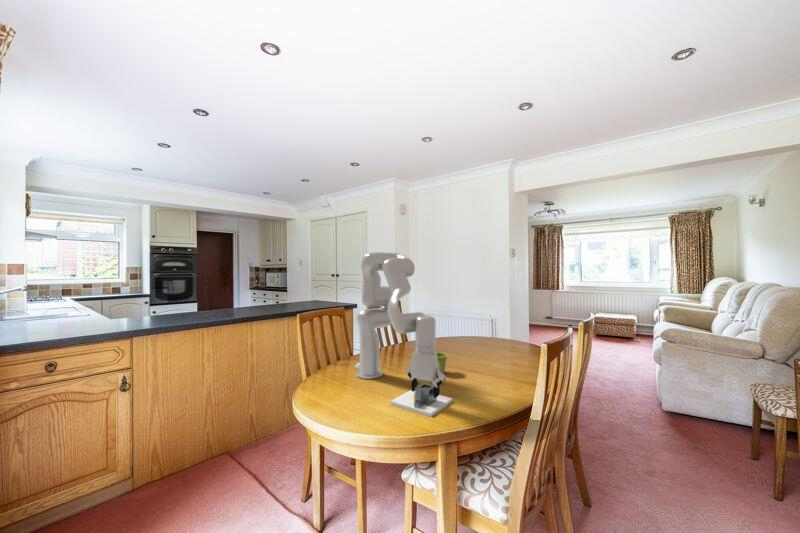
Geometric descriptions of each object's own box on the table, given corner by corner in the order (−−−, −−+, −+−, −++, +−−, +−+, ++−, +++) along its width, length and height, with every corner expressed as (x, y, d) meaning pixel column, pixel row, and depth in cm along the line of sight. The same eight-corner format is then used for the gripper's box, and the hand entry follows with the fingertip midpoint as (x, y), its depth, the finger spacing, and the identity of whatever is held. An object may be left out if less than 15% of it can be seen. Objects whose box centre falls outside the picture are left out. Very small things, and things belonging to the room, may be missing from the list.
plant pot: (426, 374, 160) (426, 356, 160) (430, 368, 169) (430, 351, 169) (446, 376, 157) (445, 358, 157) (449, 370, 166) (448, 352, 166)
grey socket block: (423, 396, 130) (423, 382, 130) (436, 400, 127) (436, 385, 127) (409, 405, 122) (409, 390, 122) (423, 409, 118) (423, 394, 118)
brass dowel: (413, 405, 122) (413, 393, 122) (414, 404, 123) (414, 392, 123) (415, 406, 121) (415, 393, 121) (417, 405, 122) (417, 393, 122)
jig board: (390, 404, 126) (390, 401, 126) (413, 391, 139) (413, 388, 139) (430, 416, 115) (430, 413, 115) (452, 401, 128) (452, 398, 128)
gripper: (401, 347, 128) (400, 391, 129) (440, 354, 118) (440, 402, 118) (412, 343, 134) (411, 385, 135) (450, 350, 124) (450, 395, 124)
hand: (425, 393), depth 126 cm, fingers open, 9 cm apart
